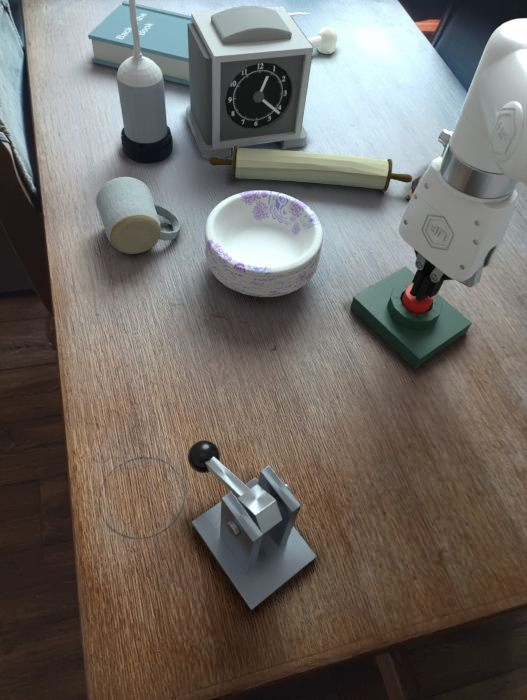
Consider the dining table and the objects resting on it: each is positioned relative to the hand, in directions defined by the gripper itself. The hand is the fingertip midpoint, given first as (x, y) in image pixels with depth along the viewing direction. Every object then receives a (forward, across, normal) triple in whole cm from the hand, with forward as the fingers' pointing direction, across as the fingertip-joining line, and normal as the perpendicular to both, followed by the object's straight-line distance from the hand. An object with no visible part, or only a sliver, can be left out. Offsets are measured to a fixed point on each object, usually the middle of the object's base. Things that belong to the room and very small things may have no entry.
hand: (422, 292), depth 67 cm
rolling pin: (+6, -29, +7) cm, 31 cm away
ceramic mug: (+6, -33, -21) cm, 40 cm away
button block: (+6, 0, 0) cm, 6 cm away
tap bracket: (+6, +11, -34) cm, 36 cm away
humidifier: (+6, -50, -10) cm, 52 cm away
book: (+5, -74, +8) cm, 75 cm away
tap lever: (0, +7, -34) cm, 35 cm away
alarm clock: (+6, -46, +7) cm, 47 cm away
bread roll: (+6, -16, +24) cm, 30 cm away
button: (+2, 0, 0) cm, 2 cm away
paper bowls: (+6, -18, -11) cm, 22 cm away
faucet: (+5, -61, +31) cm, 69 cm away
